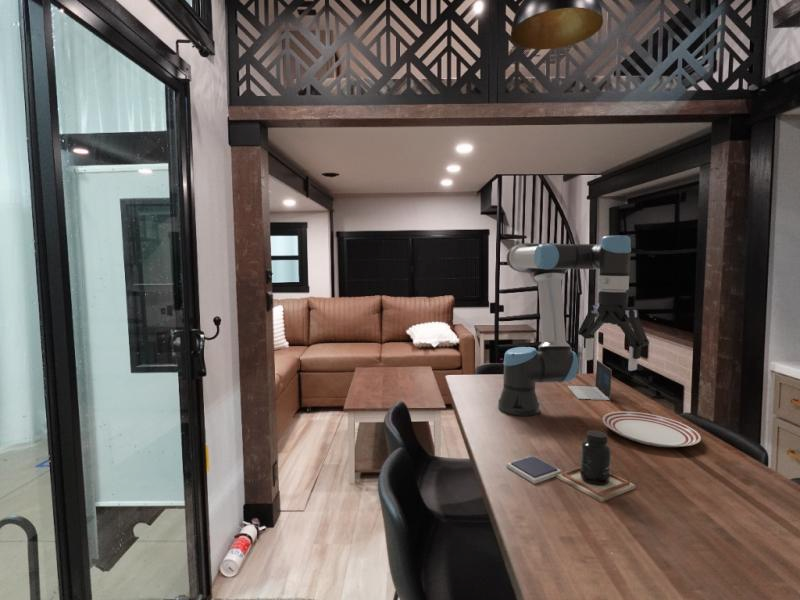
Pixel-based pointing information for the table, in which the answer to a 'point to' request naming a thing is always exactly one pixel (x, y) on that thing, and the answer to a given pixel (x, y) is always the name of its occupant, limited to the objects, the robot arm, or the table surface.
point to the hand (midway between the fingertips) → (609, 364)
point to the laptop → (602, 385)
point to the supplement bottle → (595, 459)
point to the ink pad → (533, 469)
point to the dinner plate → (651, 429)
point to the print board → (596, 491)
